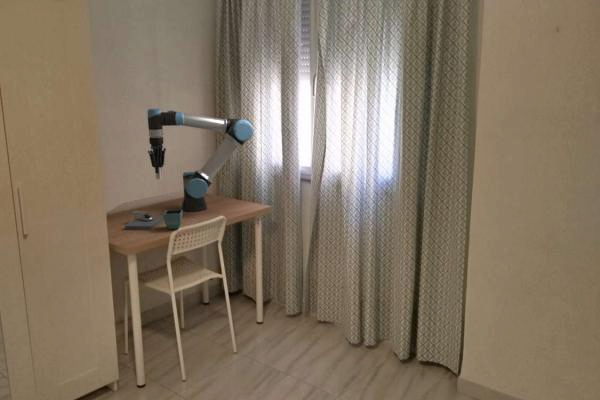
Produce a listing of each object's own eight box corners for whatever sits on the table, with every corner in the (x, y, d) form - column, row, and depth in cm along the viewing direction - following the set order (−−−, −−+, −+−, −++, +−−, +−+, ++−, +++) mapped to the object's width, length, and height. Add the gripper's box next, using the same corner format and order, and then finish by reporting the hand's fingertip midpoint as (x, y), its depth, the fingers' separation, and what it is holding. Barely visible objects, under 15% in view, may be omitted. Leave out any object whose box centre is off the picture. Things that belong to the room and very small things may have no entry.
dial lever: (155, 218, 278) (154, 211, 277) (149, 221, 272) (149, 213, 271) (137, 217, 281) (136, 209, 280) (130, 220, 275) (130, 212, 274)
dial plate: (163, 219, 284) (163, 216, 283) (151, 229, 264) (150, 225, 264) (138, 219, 284) (138, 215, 284) (125, 229, 265) (124, 225, 264)
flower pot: (167, 226, 271) (166, 209, 269) (183, 225, 272) (182, 209, 270) (164, 230, 263) (163, 214, 261) (181, 230, 264) (180, 213, 262)
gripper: (158, 135, 286) (160, 176, 292) (142, 137, 275) (145, 180, 280) (169, 136, 284) (171, 177, 289) (153, 138, 272) (156, 181, 277)
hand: (158, 178), depth 285 cm, fingers closed
